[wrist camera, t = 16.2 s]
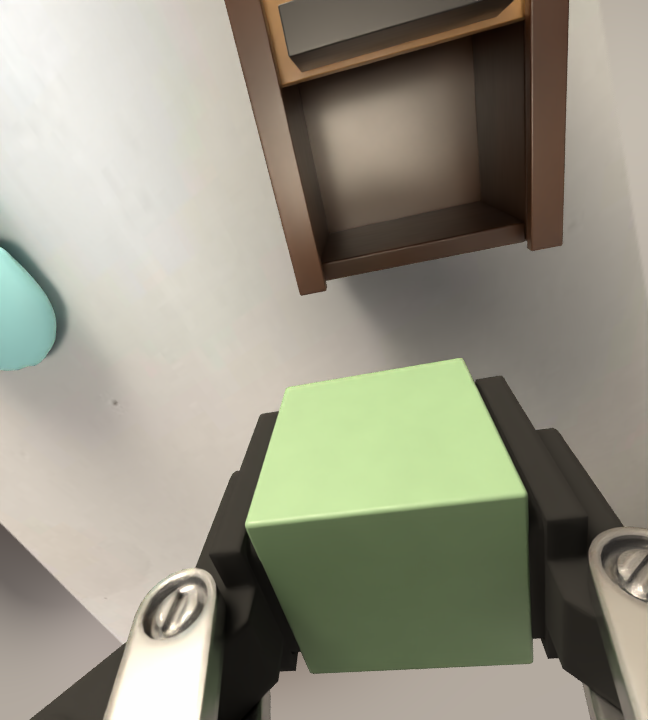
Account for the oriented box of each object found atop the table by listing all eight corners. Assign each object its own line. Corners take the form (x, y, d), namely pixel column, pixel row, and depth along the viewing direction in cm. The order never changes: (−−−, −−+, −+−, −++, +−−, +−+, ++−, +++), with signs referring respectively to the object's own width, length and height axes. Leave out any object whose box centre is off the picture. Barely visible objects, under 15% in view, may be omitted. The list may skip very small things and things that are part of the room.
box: (492, 210, 24) (563, 245, 15) (319, 246, 25) (300, 296, 17) (479, -102, 18) (578, -309, 10) (258, -29, 20) (184, -153, 11)
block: (462, 355, 9) (529, 493, 5) (476, 492, 11) (534, 665, 7) (285, 386, 10) (242, 525, 6) (325, 510, 11) (309, 676, 8)
